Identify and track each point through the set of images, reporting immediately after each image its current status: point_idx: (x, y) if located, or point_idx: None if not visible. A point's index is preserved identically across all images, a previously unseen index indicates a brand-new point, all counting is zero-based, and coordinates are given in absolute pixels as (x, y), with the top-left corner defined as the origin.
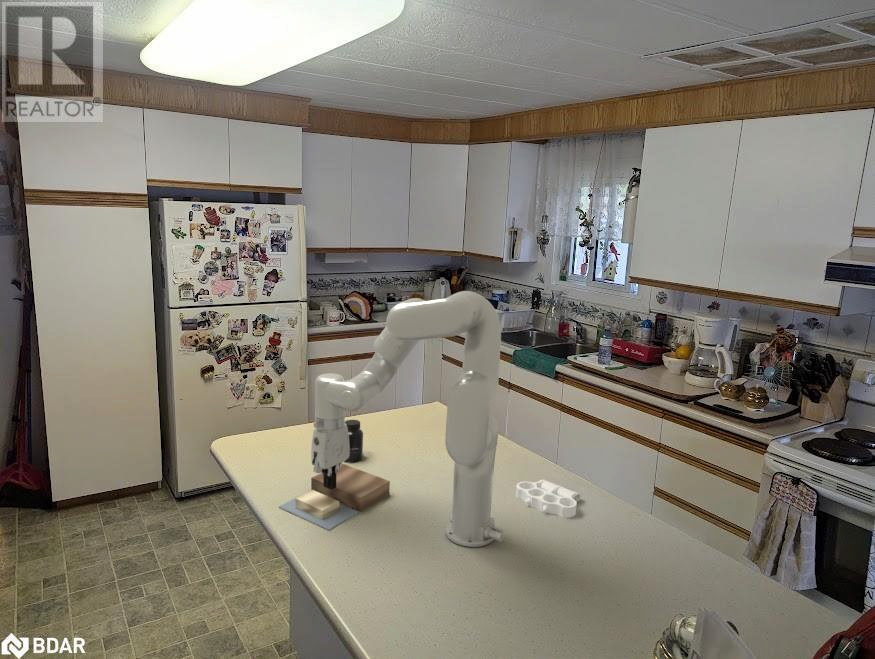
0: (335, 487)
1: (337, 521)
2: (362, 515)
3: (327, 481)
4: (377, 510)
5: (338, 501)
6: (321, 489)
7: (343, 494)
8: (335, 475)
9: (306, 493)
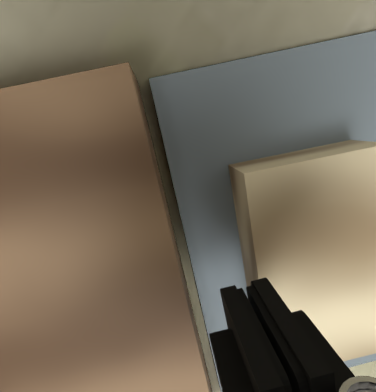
0: (227, 287)
1: (308, 69)
2: (150, 37)
3: (326, 344)
4: (36, 21)
5: (248, 178)
6: (206, 371)
7: (171, 232)
8: (269, 374)
9: None
